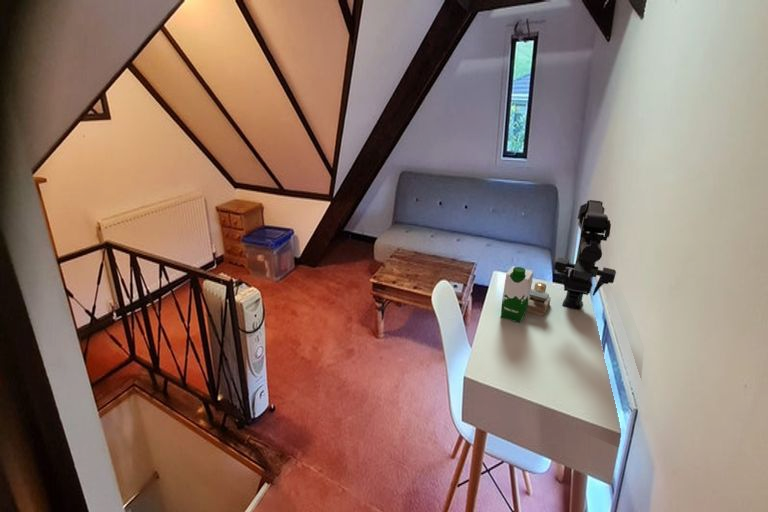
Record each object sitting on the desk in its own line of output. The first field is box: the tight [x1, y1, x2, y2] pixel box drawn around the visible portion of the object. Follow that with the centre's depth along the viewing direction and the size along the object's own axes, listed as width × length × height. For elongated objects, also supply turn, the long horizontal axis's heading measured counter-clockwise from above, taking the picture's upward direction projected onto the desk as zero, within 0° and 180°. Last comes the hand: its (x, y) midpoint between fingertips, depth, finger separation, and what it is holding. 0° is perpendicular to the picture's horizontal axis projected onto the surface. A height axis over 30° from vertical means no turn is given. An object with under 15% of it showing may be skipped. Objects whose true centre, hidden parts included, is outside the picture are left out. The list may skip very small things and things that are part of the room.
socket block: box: [525, 288, 552, 317], centre depth 150 cm, size 10×8×8 cm
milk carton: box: [500, 265, 535, 323], centre depth 142 cm, size 9×9×20 cm
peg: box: [532, 282, 547, 303], centre depth 151 cm, size 4×4×9 cm
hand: (579, 291), depth 138 cm, fingers open, 9 cm apart
